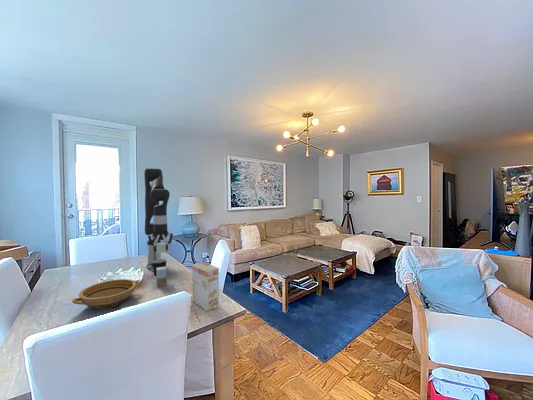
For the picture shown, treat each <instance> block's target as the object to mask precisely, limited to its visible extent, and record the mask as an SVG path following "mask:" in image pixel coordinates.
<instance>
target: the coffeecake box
mask: <svg viewBox="0 0 533 400" xmlns="http://www.w3.org/2000/svg"><path fill="white" fill-rule="evenodd" d="M191 267H192V269H191V272H192V274H191V275H192V277H191V278H192V279H191V280H192V281H191V282H192V287H191V288H192V289H191V290H192V302H193V301H194V302H193V303H195V304H196V303H197V304H198V305H197V304H196V305H197V306H199V307H200V306H201V307H200V308H201V309H203V308H204V309H205V310H204V309H203V310H204V311H206V312H209V311H211V309H212V310H214V309H213V308H215V307H217V306H219V307H220V276H219V275H220V272H219V271H220V268H219V267H217V266H215V265H212V264H210V263H208V262H205V261H201V262H197V263H193V264H192V266H191ZM217 308H218V307H217ZM215 309H216V308H215ZM208 310H209V311H208Z"/></svg>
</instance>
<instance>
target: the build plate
mask: <svg viewBox="0 0 533 400" xmlns="http://www.w3.org/2000/svg"><path fill="white" fill-rule="evenodd" d="M149 287H150V291H157V290H162V289H168V288H174V284H173V281H172V279H166V286H161V287H157V281H154V282H150V284H149Z"/></svg>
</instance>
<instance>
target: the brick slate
mask: <svg viewBox="0 0 533 400" xmlns="http://www.w3.org/2000/svg"><path fill="white" fill-rule="evenodd" d="M166 266H167V265H166ZM166 266H165V267H158V268H157V276H156V280H157V279H158V278H165V277H166V278H167V267H166Z"/></svg>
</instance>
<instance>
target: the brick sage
mask: <svg viewBox="0 0 533 400" xmlns="http://www.w3.org/2000/svg"><path fill="white" fill-rule="evenodd" d="M156 253H157V254H158V253H161V254H164V253H167V251H166V243H165V242H161V243H157V244H156Z"/></svg>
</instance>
